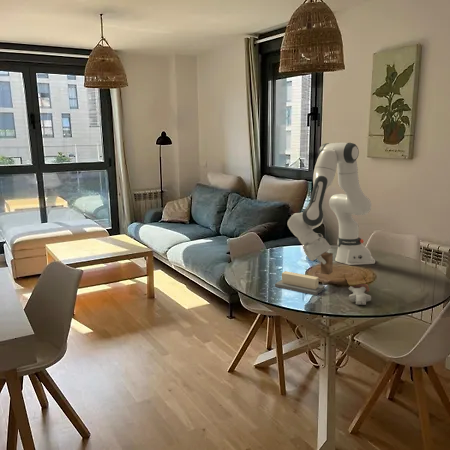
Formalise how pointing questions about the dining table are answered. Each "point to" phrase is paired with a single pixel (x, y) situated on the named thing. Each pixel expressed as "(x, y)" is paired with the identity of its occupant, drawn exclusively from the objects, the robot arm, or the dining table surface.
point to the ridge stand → (300, 283)
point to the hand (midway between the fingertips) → (327, 261)
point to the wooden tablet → (362, 286)
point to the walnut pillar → (328, 266)
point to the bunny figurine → (359, 295)
